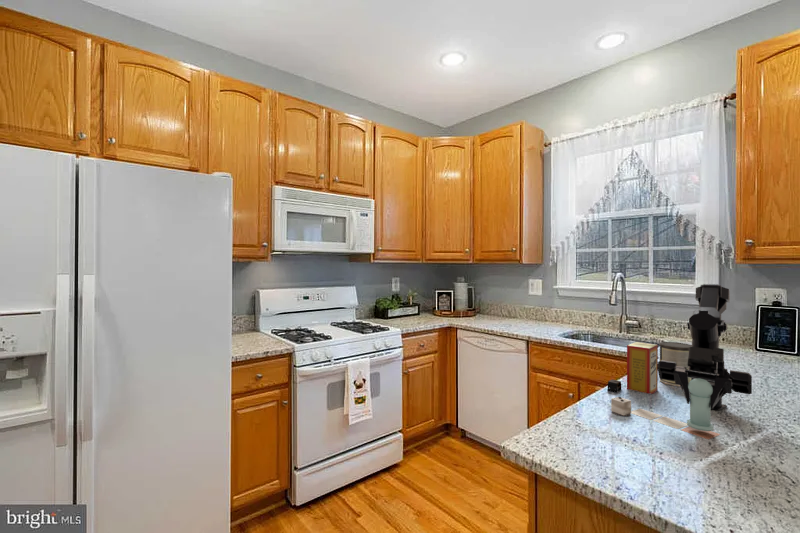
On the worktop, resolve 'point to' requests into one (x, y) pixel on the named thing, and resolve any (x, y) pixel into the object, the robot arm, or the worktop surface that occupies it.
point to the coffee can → (674, 356)
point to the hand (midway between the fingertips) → (699, 405)
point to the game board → (624, 409)
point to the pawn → (700, 405)
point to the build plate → (614, 385)
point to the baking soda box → (642, 367)
